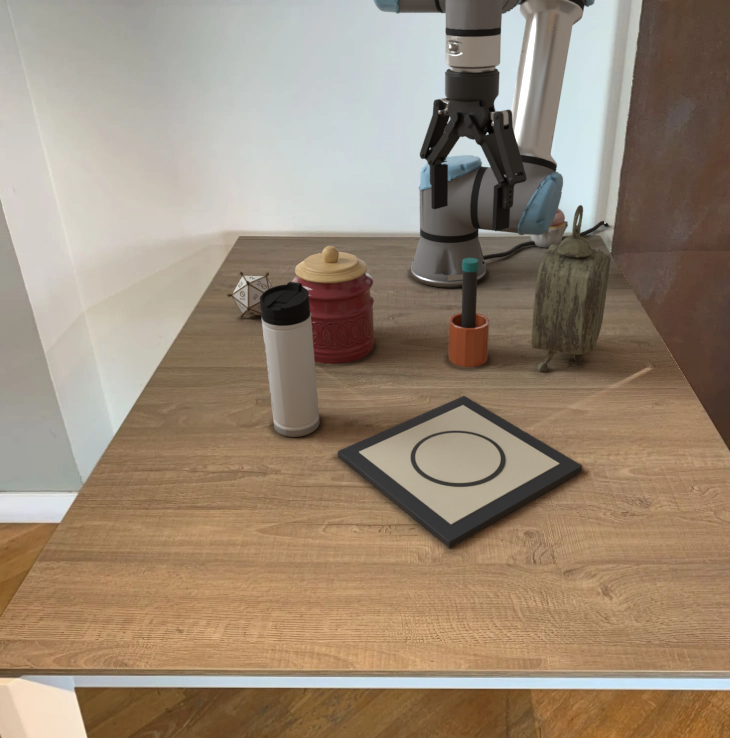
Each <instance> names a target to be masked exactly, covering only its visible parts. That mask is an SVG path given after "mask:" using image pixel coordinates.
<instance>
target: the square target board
mask: <svg viewBox="0 0 730 738" xmlns="http://www.w3.org/2000/svg"><path fill="white" fill-rule="evenodd" d="M337 458H338V459H339V460H341V461H342V462H343V463H344V464H345V465H346V466H347V467H349V468H350V469H352V470H353V471H354V472H355V473H357V474H358V475H359V476H360V477H361V478H363V479H364V480H365V481H366V482H368V483H369V485H371V486H372V487H374V488H375V489H376V490H377V491H379V492H380V493H381V494H382V495H383V496H384V497H385V498H387V499H388V500H390V502H392V503H393V504H394V505H395V506H397V507H398V508H399V509H400V510H401V511H403V512H404V513H405V514H406V515H408V516H409V517H410V518H411V519H413V520H414V521H415V522H416V523H417V524H418V525H420V526H421V527H422V528H423V529H425V530H426V531H427V532H428V533H430V534H431V535H432V536H433V537H434V538H436V539H437V540H438V541H439V542H441V543H442V544H443V545H444V546H445V547H447V548H448V549H452V548H453V547H455V546H457V545H458V544H459V543H462V542H463V541H465V540H467V539H468V538H470V537H472V536H473V535H475V534H477V533H478V532H480V531H482V530H484V529H485V528H487V527H489V526H491V525H493V524H495V523H496V522H498V521H499V520H501V519H503V518H505V517H506V516H508V515H510V514H511V513H513V512H515V511H516V510H518V509H520V508H522V507H523V506H525V505H527V504H529V503H530V502H532V501H534V500H535V499H537V498H539V497H541V496H542V495H544V494H546V493H548V492H549V491H551V490H553V489H555V488H556V487H558V486H560V485H562V484H563V483H565V482H566V481H568V480H570V479H572V478H573V477H575V476H576V475H578V474H579V475H580V474H581V473H582V471H583V465H582V464H581V463H578V462H577V461H575V460H574V459H572V458H570V457H568V456H567V455H565V454H564V453H562V452H560V451H558V450H557V449H555V448H553V447H551V446H550V445H548V444H547V443H545V442H543V441H542V440H540V439H538V438H536V436H533V435H531V434H530V433H528V432H526V431H524V430H523V429H521V428H519V427H518V426H517V425H514V424H513V423H511V422H510V421H508V420H506V419H504V418H502V417H501V416H499V415H498V414H496V413H494V412H493V411H490V410H489V409H487V408H486V407H484V406H483V405H481V404H479V403H477V402H476V401H473V399H471V398H468V397H467V396H466V395H462V396H460V397H458V398H455V399H453V400H451V401H449V402H447V403H444V404H442V405H439V406H438V407H435V408H432V409H431V410H428V411H426V412H423V413H421V414H419V415H417V416H414V417H411V418H410V419H408V420H405V421H403V422H401V423H398V424H395V425H394V426H392V427H389V428H387V429H385V430H383V431H380V432H377V433H376V434H373V435H372V436H369V437H366V438H364V439H362V440H360V441H357V442H356V443H352V444H351V445H348V446H346V447H344V448H342V449H340V450H339V449H338V451H337Z"/></svg>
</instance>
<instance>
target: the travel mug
mask: <svg viewBox="0 0 730 738" xmlns="http://www.w3.org/2000/svg"><path fill="white" fill-rule="evenodd" d="M260 306H261V312H262V313H261V315H260V316H261V326H262V334H263V342H264V352H265V360H266V369H267V377H268V387H269V394H270V404H271V411H272V417H273V419H272V420H273V428H274V430H275V432H277V433H278V434H279V435H281V436H284V437H289V438H299V437H304V436H308V435H310V434H312V433H313V432H315V431H316V430H317V429H318V428H319V426H320V423H321V422H320V410H319V398H318V386H317V375H316V374H317V373H316V362H315V360H314V348H313V336H312V323H311V313H310V304H309V293H308V291H307V289H306V288H304V287H302V283H296V282H292V281H289V282H288V283H286V284H280V285H276V286H272V288H270V289H268V290H266V291H265V292H264V293H263V294H262V295H261V297H260Z"/></svg>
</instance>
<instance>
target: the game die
mask: <svg viewBox="0 0 730 738" xmlns="http://www.w3.org/2000/svg"><path fill="white" fill-rule="evenodd" d="M239 275H240V276H241V277H240V279H239V280H238V282H237V284H236V286H235V287H234V289H233V291H232V293H227V294H226V296H227V297H228V298H232V299H233V301H234V303H235V305H236V306H237V308H238V310H239V312H240V313H241V314H240V316H239V319H243V318H244V316H262V315H261V313H262V312H261V306H260V297H261V295H262V294H263V293H264V292H265V291H266V290H268V289H270V288H272V287H273V285H272V283H271V282H270V279H269V278H268V277H269V275H270V272H269V271H267V272H266V273H265V275H258V274H257V275H255V274H254V275H253V274H251V275H249V274H244V273H243V271H241V270H240V271H239Z"/></svg>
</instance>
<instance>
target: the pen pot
mask: <svg viewBox="0 0 730 738" xmlns="http://www.w3.org/2000/svg"><path fill="white" fill-rule="evenodd" d="M461 323H462V312H459V313H456V314H454V315H452V316H450V317H449V320H448V341H447V342H448V345H447V346H448V347H447V351H448V352H447V358H448V360H449V362H451V363H452V364H453V365H456V366H458V367H464V368H473V367H479V366H483V365H484V364H485V363H487V361H488V357H489V340H490V319H489V318H488V317H487V316H485V315H484V314H481V313H477V312H476V327H475V328H463V327H461Z"/></svg>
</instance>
